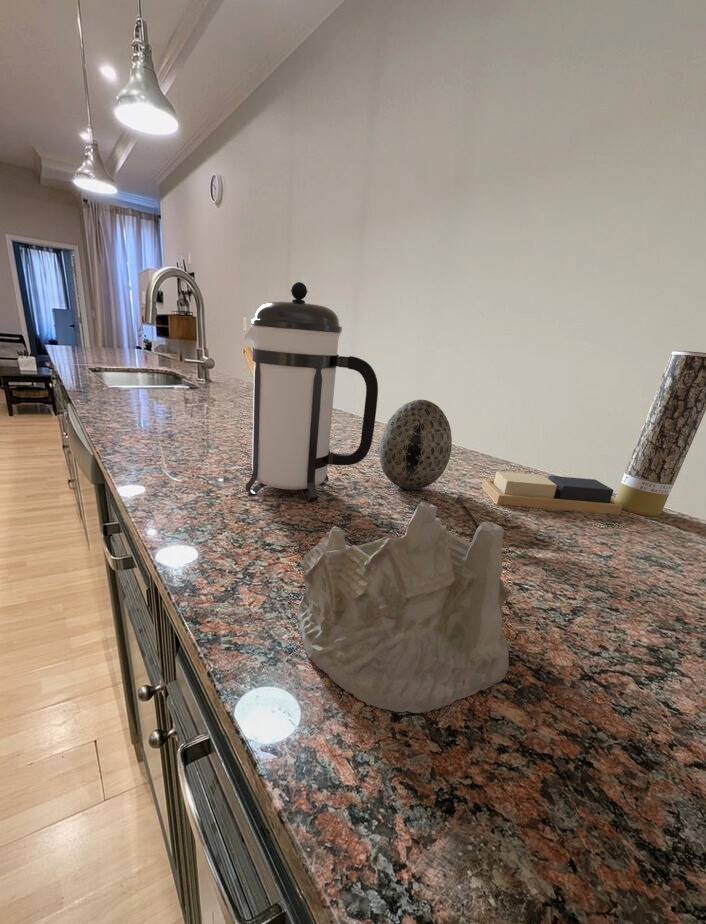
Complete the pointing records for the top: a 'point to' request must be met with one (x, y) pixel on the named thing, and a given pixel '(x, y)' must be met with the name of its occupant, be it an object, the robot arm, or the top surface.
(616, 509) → the tray
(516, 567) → the top surface
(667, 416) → the paper tube
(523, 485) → the beige pad
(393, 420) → the decorative egg
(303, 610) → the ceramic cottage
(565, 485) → the charcoal pad
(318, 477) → the coffee press
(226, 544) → the top surface
